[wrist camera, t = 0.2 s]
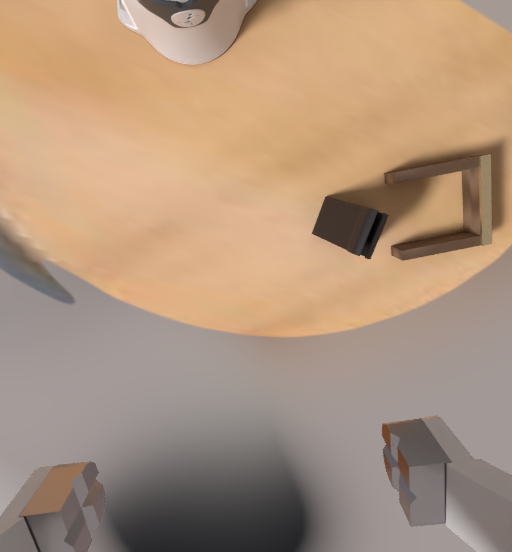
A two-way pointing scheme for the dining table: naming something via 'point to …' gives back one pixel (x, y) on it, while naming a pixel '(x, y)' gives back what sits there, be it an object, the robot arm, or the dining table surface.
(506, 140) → the dining table surface
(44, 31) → the dining table surface
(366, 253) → the phone stand
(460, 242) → the frame
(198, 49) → the robot arm
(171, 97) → the dining table surface
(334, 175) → the dining table surface
